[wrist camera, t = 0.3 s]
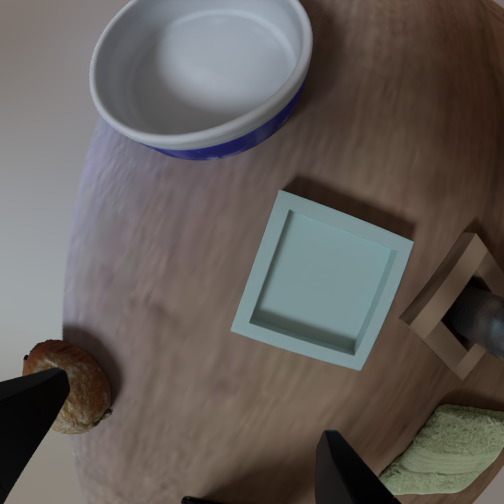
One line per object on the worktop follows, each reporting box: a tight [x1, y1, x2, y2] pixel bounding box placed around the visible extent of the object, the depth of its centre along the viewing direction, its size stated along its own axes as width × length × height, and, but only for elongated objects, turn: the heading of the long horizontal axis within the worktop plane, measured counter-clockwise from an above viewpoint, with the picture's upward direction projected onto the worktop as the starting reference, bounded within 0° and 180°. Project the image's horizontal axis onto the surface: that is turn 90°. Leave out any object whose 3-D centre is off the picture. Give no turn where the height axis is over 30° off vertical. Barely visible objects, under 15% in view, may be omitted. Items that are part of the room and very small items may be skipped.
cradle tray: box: [230, 190, 414, 371], centre depth 20 cm, size 10×10×2 cm
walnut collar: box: [400, 232, 504, 381], centre depth 19 cm, size 9×9×2 cm
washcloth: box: [379, 404, 504, 495], centre depth 21 cm, size 13×18×3 cm
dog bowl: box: [89, 0, 313, 160], centre depth 18 cm, size 15×15×6 cm
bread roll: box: [22, 339, 111, 434], centre depth 22 cm, size 10×10×8 cm
